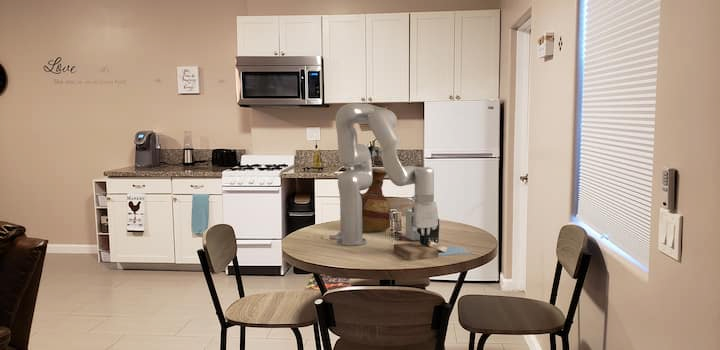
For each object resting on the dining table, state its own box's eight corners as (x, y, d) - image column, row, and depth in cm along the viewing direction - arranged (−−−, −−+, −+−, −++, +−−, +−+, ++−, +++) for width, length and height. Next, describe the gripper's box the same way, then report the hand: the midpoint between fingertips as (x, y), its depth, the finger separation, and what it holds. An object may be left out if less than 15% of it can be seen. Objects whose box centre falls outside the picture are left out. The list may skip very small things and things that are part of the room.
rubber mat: (437, 256, 214) (437, 255, 214) (422, 249, 226) (422, 248, 226) (471, 252, 220) (471, 251, 220) (455, 246, 231) (455, 245, 231)
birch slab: (429, 246, 216) (431, 241, 217) (422, 242, 222) (424, 238, 222) (445, 252, 220) (447, 247, 220) (438, 249, 225) (439, 244, 225)
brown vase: (389, 235, 253) (389, 170, 250) (346, 234, 256) (345, 170, 253) (393, 226, 273) (393, 166, 269) (353, 225, 276) (353, 166, 273)
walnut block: (410, 260, 208) (410, 252, 208) (393, 251, 222) (393, 244, 222) (438, 257, 213) (438, 249, 213) (420, 248, 227) (420, 241, 226)
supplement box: (412, 240, 242) (412, 212, 241) (405, 237, 249) (405, 209, 248) (427, 239, 245) (427, 211, 243) (419, 235, 252) (419, 208, 250)
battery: (423, 243, 237) (423, 217, 235) (422, 241, 240) (422, 215, 239) (439, 243, 236) (440, 217, 235) (438, 241, 240) (439, 215, 239)
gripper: (411, 201, 210) (411, 248, 212) (445, 198, 216) (445, 244, 218) (402, 198, 217) (402, 244, 219) (436, 196, 223) (435, 240, 225)
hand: (423, 244), depth 219 cm, fingers closed
